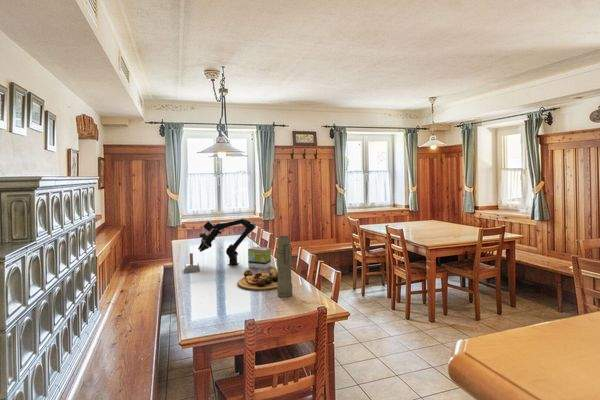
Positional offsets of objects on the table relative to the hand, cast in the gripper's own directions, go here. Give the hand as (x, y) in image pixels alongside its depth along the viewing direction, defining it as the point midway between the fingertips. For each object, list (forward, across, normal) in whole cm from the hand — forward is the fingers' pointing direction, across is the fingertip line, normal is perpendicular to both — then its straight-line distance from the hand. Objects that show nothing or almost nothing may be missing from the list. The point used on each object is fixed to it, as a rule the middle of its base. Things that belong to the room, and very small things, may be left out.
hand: (199, 250), depth 296 cm
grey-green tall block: (-17, +96, +35) cm, 104 cm away
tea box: (-21, +24, +39) cm, 50 cm away
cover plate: (+13, -2, +5) cm, 14 cm away
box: (+14, +10, +4) cm, 18 cm away
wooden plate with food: (-13, +67, +32) cm, 75 cm away
